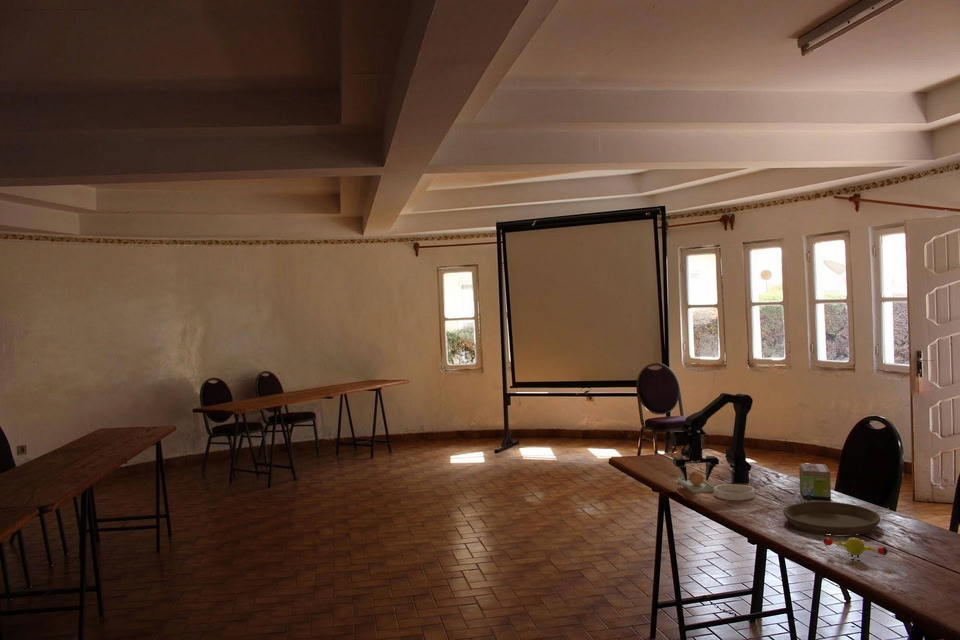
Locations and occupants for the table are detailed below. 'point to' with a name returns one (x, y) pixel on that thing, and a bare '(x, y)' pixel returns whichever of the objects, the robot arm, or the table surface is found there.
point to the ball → (696, 478)
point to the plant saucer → (831, 518)
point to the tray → (700, 488)
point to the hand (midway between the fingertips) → (696, 480)
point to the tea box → (815, 483)
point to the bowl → (734, 492)
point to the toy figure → (855, 546)
